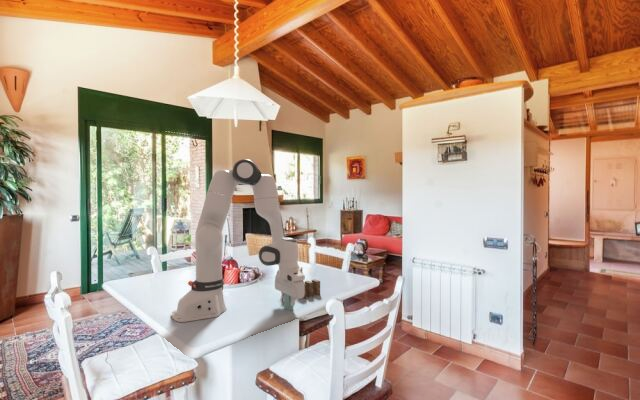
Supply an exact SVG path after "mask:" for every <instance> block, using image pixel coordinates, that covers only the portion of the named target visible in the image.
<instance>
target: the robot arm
mask: <svg viewBox="0 0 640 400" xmlns="http://www.w3.org/2000/svg"><path fill="white" fill-rule="evenodd" d="M237 186H250V187H251V189H252V192H253V203H254V204H253V205H254V208H255V211H256V214H257V215H258V216H259V217H261V218H263V219H264V220H265V221H267V223H268V225H269V229H270V233H271V238H272V239H271V242H270V243H268V244H266V245H264V246H262V247H261V248H260V249H259V251H258V259H259V261H260V263H261V264H262V265H264V266H266V267H267V266H269V267H270V266H278V270H277V271H276V275H275V276H274V288H275V290H277V291H279V292H280V293H281V298H282V297H283V303H284V293H285V294H287V295H289V296H291V301H290V305H291V306H293V307H294V306H295V304H296V300H300V299H301V298H303V297H304V294H305V285H304V284H305V281H306V280H305V277H306V276H305V274H304V273H301V271H300V270H299V269H298V266H299V263H298V259H299V245H298V242H297V240H296V239H295V238H293V237H290V236H289V237H288V236H285V235H286V234H285V228H284V223H283V217H282V214H281V213H282V212H281V209H280V203H279V194H278V188H277V184H276V179H275V178H274V176H272V175H271V174H267V173H262V172H261V171H260V169H259V168H258V166H257V164H256V163H255V162H254V161H252V160H251V159H248V158H247V159H246V158H242V159H240V160H238V161H236V162H235V164H234V165H233V167H232V169H230V170H227V169H218V170H216V171H214V174H213V176H212V178H211V180H210V183H209V186H208V189H207V192H206V196H205V198H204V202H203V203H204V204H203V207H202V210H201V213H200V217H199V219H198V223H197V226H196V227H197V228H196V230H195V236H194V237H195V238H194V239H195V280H194V281H192V280H189V281H187V285H188V286H189V287H190V288H191V289H190V290H189V291H187V293H185V294H184V295H183V296H182V297H181V298H179V300H178V303H177V305H176V306H177V307H176V309H174V310H173V311H172V312H171V318H172V320H173V321H175V322H177V323H188V322H193V321H197V320H198V321H200V320H205V319H211V318H217V317H220V315H221V314H222V313H224V312H225V311H227V307H226V303H225V299H224V292H223V291H224V278H223V237H224V235H223V229H224V227H225V223H226V220H227V217H228V215H229V211H230V209H231V208H230V207H231V203H232V200H233V196H234V193H235V189H236V188H237ZM304 280H305V281H304Z"/></svg>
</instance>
